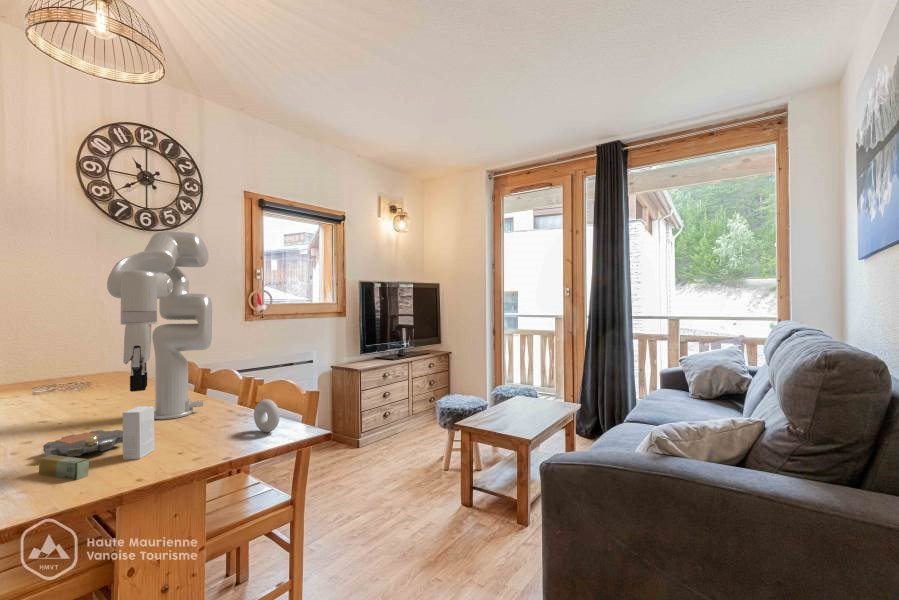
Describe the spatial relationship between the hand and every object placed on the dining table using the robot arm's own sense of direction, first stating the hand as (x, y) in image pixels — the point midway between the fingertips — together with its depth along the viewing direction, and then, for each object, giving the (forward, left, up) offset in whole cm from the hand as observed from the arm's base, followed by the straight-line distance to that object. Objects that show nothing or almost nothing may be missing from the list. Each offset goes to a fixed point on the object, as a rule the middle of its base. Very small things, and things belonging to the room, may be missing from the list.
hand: (138, 388), depth 107 cm
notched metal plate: (+12, -11, -16) cm, 23 cm away
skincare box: (0, 0, -17) cm, 17 cm away
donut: (-31, -3, -17) cm, 36 cm away
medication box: (+13, +6, -18) cm, 23 cm away
